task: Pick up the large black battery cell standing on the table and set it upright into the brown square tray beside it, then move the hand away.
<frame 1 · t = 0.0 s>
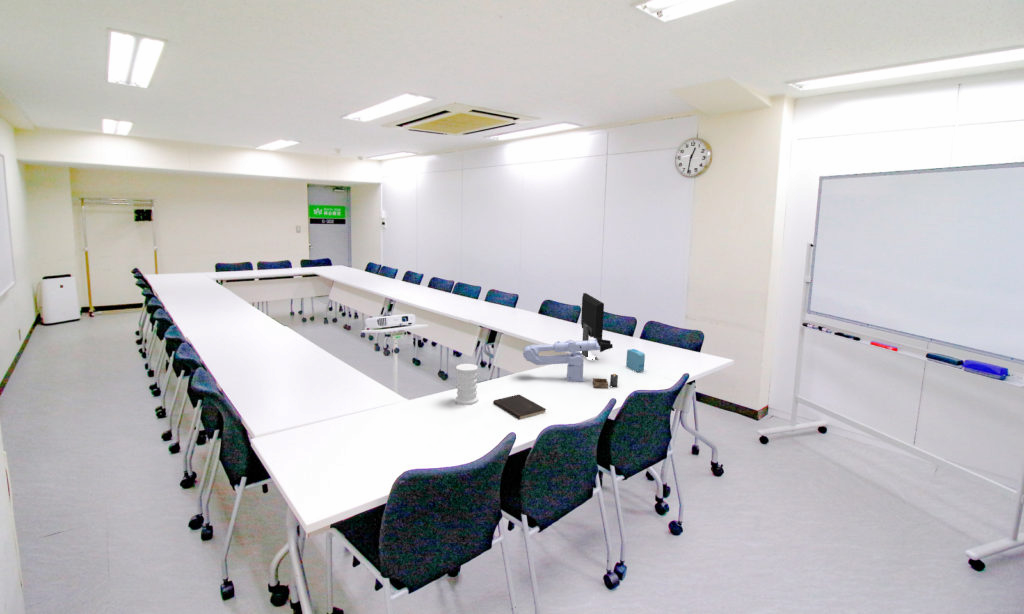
hand: (611, 344, 282), 22 cm above the table, tool horizontal, fingers open, 7 cm apart
brown square tray: (600, 385, 276), on the table
data package: (634, 369, 306), on the table
hardcover book: (519, 409, 243), on the table
battery cell: (613, 386, 276), on the table
computer monitor: (588, 355, 335), on the table
decorative container: (466, 401, 251), on the table
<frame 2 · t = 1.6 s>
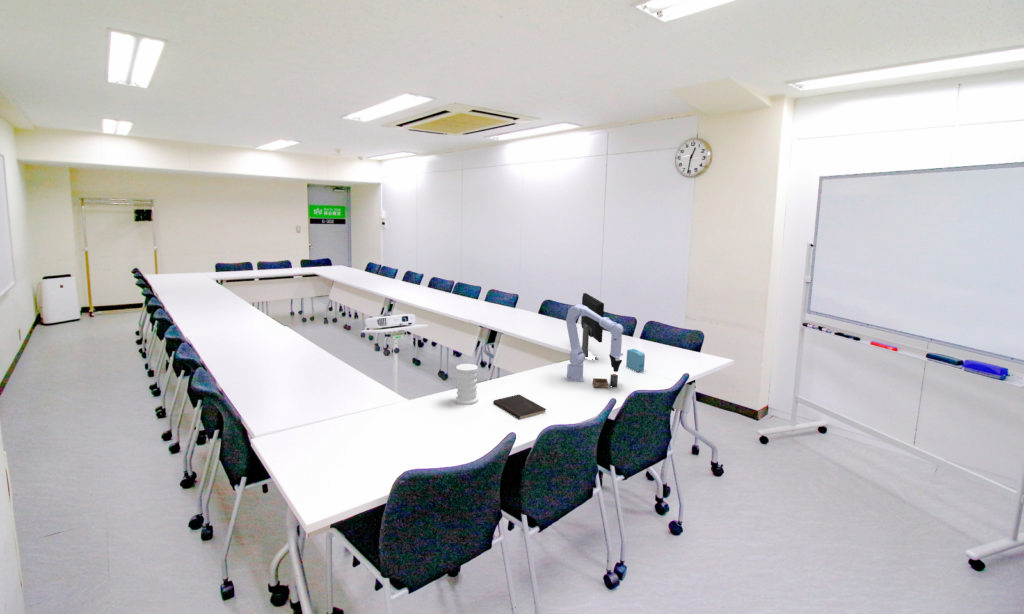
hand: (614, 369, 274), 10 cm above the table, tool pointing down, fingers open, 7 cm apart
nothing on the table moved.
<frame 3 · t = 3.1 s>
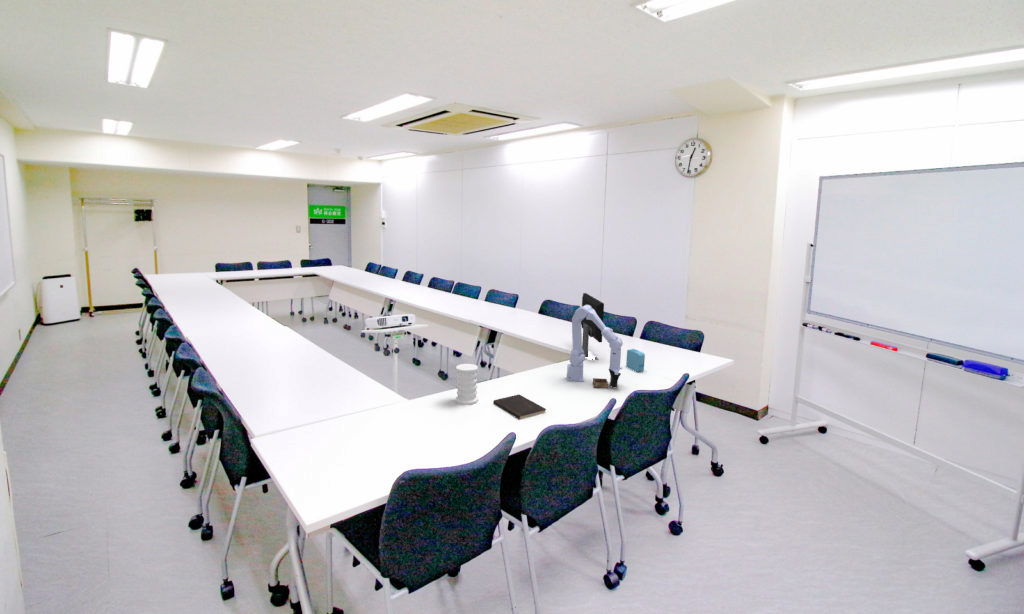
hand: (613, 383, 275), 2 cm above the table, tool pointing down, fingers closed on battery cell, 4 cm apart
battery cell: (613, 386, 276), on the table, touching gripper
everything else where it was.
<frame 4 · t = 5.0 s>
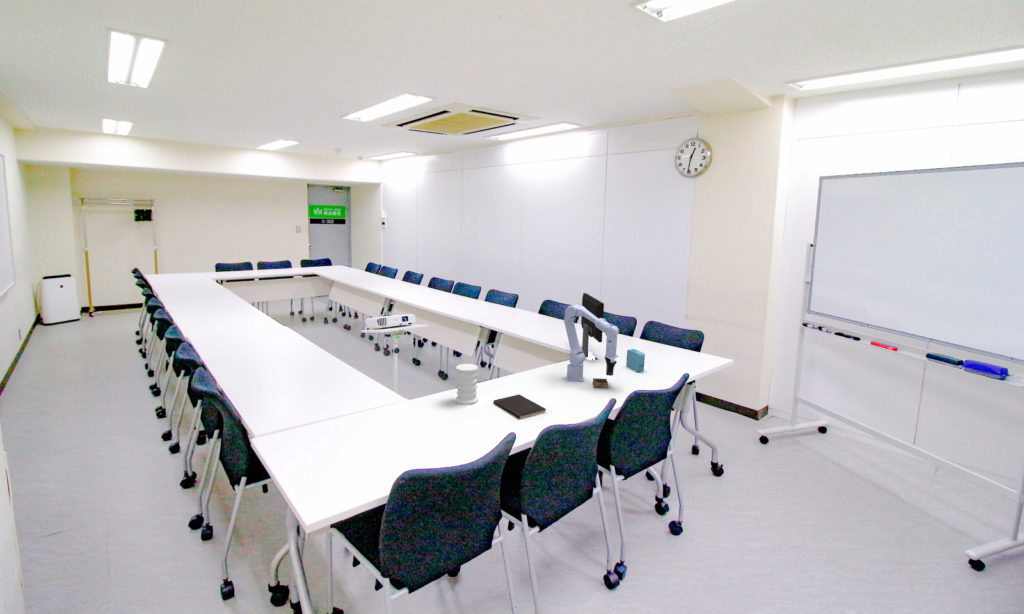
hand: (609, 371, 274), 9 cm above the table, tool pointing down, fingers closed on battery cell, 4 cm apart
battery cell: (609, 374, 275), point 7 cm above the table, touching gripper
everything else where it was.
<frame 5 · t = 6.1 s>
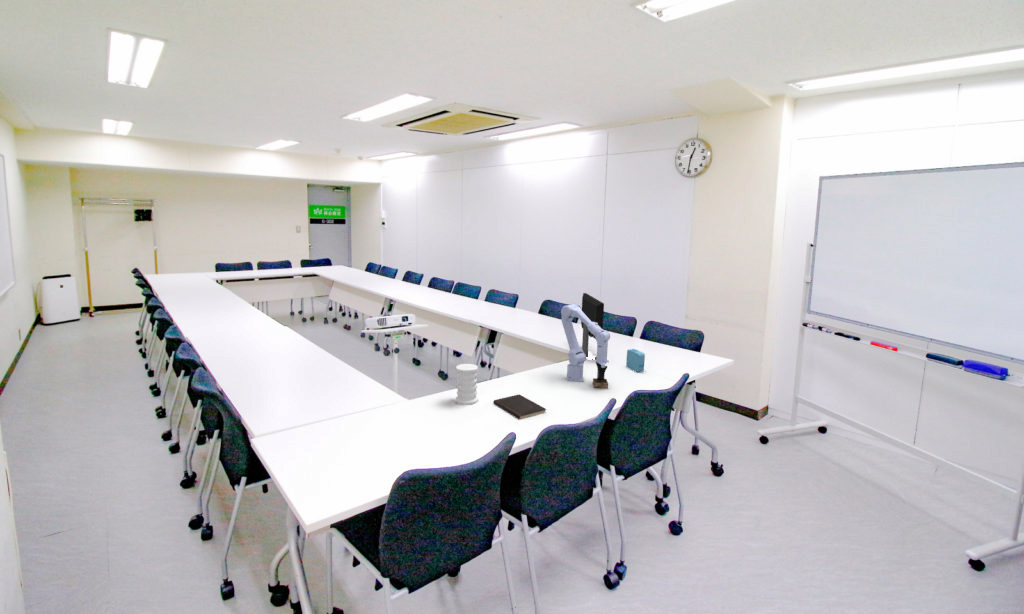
hand: (600, 376, 275), 6 cm above the table, tool pointing down, fingers closed on battery cell, 4 cm apart
battery cell: (600, 379, 275), point 4 cm above the table, touching gripper
everything else where it was.
when the fingers open (4 cm above the table, at t = 6.8 s): battery cell drops 2 cm, resting on brown square tray.
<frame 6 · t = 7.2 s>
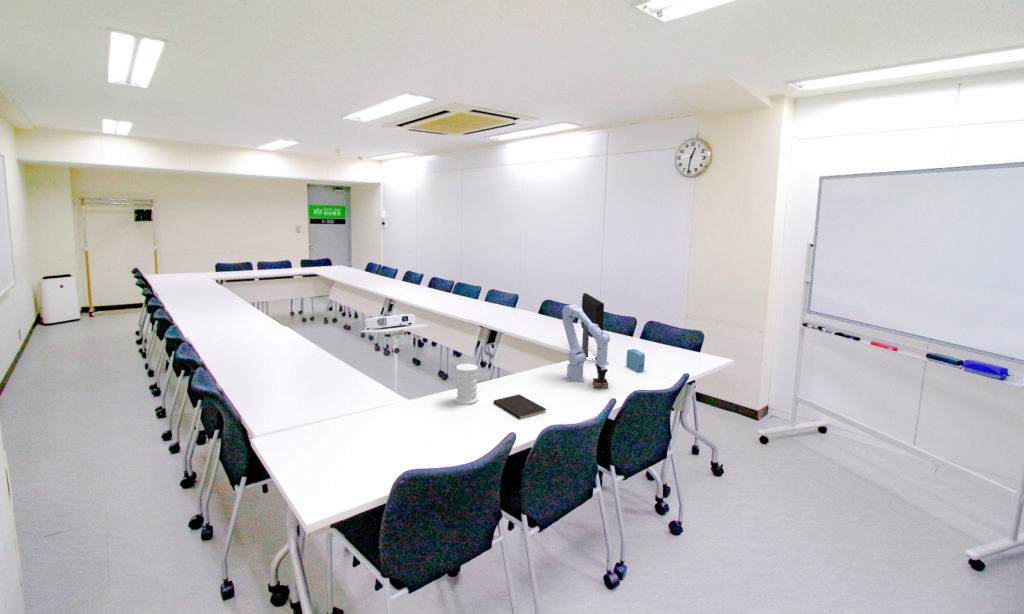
hand: (600, 378, 275), 4 cm above the table, tool pointing down, fingers open, 7 cm apart
battery cell: (600, 384, 276), point 1 cm above the table, touching brown square tray
everything else where it was.
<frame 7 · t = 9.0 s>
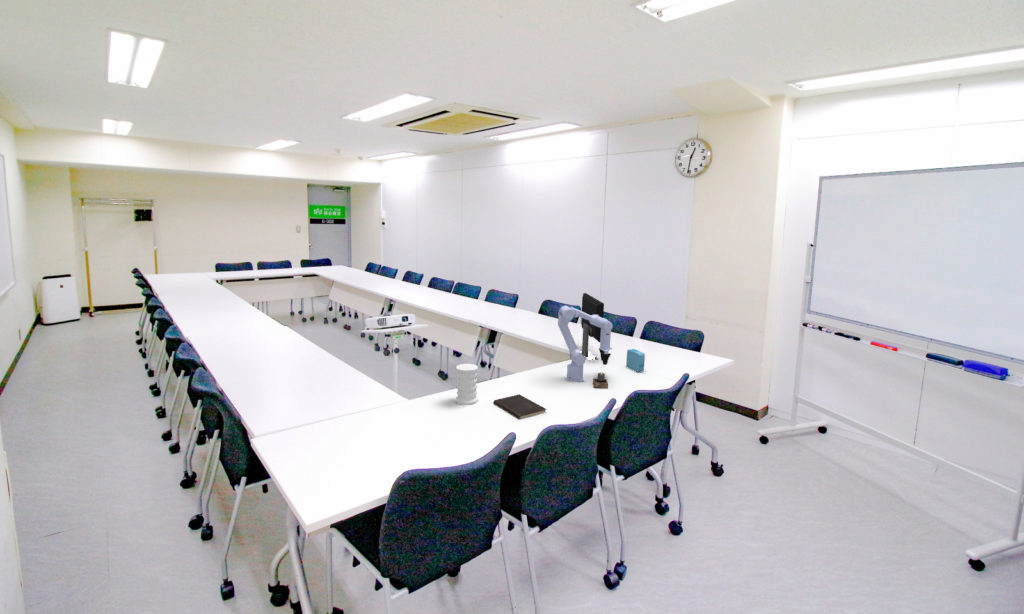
hand: (604, 362, 288), 9 cm above the table, tool pointing down, fingers open, 7 cm apart
nothing on the table moved.
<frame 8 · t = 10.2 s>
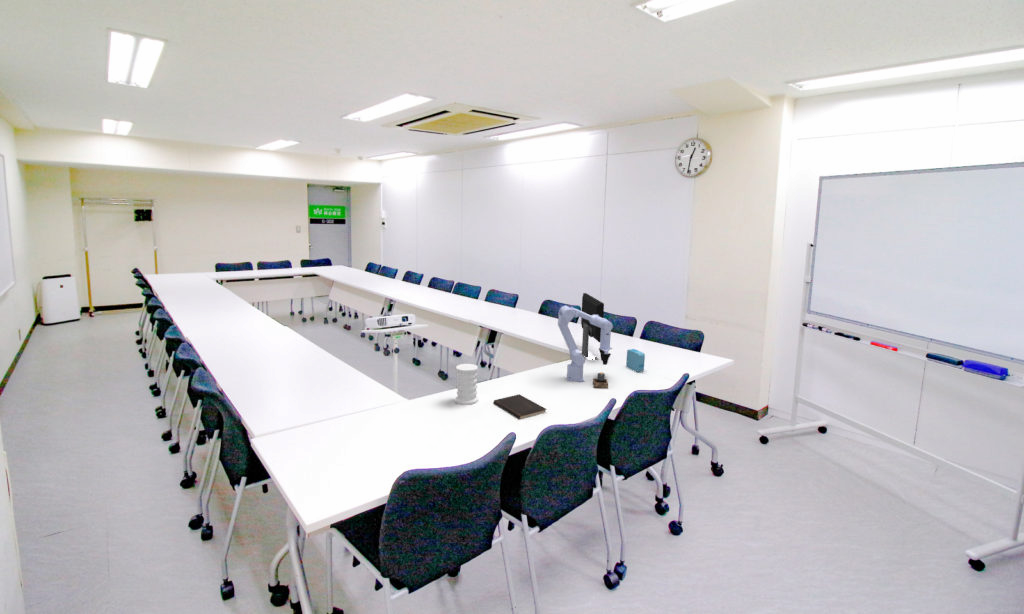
hand: (604, 362, 288), 9 cm above the table, tool pointing down, fingers open, 7 cm apart
nothing on the table moved.
at the end: battery cell 0.0 cm off-centre on the brown square tray, point 0.5 cm above the brown square tray's base; battery cell tilted 1°; the gripper is holding nothing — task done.
